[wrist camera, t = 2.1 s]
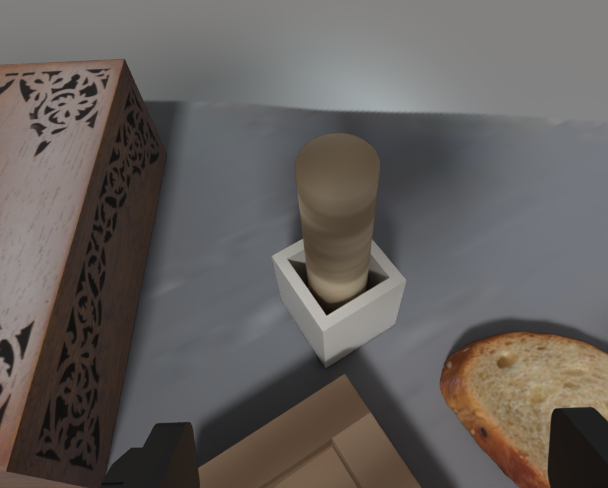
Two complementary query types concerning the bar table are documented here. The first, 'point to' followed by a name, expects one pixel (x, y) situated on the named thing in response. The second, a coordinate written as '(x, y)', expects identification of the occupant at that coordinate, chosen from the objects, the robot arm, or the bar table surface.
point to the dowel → (337, 215)
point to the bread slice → (522, 395)
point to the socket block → (314, 449)
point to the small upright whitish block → (347, 319)
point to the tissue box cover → (69, 262)
